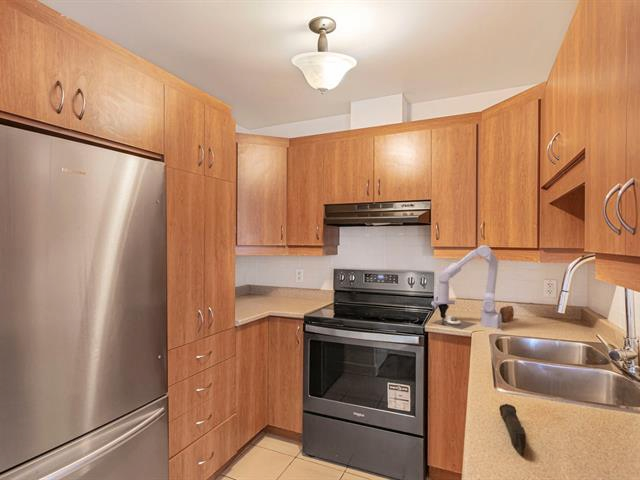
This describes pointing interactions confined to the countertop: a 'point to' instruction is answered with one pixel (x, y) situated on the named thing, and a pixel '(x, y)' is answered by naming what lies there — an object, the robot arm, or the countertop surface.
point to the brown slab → (507, 313)
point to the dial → (451, 320)
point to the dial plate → (459, 326)
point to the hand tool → (514, 427)
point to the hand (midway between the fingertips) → (442, 317)
